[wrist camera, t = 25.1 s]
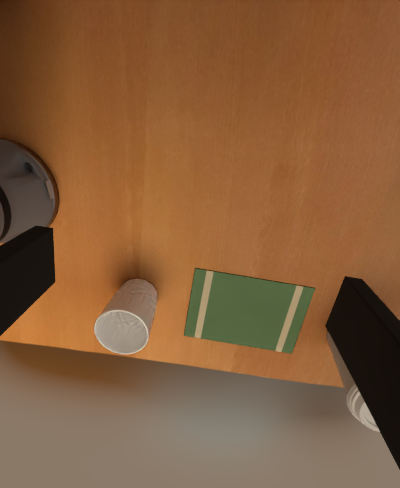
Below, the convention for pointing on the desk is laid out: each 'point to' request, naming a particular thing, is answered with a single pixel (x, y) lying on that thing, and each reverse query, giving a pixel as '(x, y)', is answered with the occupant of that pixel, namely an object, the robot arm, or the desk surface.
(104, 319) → the white cup
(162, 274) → the desk surface
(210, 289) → the cloth
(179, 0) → the desk surface
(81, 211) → the desk surface
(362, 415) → the coffee cup
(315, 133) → the desk surface
